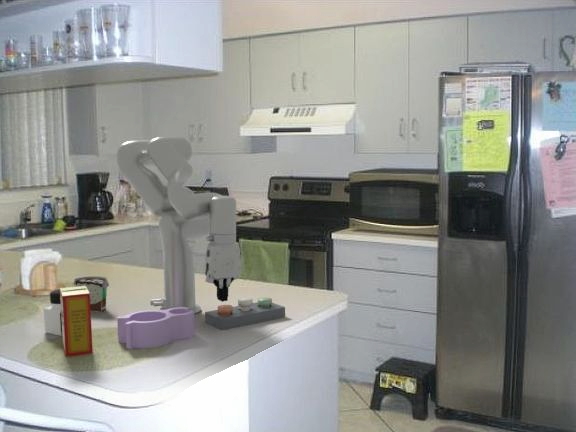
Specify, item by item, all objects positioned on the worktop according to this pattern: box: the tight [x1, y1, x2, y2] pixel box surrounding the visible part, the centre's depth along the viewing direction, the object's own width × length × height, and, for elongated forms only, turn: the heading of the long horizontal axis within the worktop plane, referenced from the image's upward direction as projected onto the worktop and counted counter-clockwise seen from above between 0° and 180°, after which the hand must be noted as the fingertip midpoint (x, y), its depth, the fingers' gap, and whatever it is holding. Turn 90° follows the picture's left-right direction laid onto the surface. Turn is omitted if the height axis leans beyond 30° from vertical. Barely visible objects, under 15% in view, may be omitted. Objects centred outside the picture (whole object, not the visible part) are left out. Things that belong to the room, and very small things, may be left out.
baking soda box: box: [59, 286, 94, 358], centre depth 171 cm, size 10×6×16 cm
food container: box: [73, 275, 110, 314], centre depth 211 cm, size 12×6×10 cm, turn 65°
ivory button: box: [237, 297, 254, 312], centre depth 198 cm, size 4×4×4 cm
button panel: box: [204, 301, 286, 331], centre depth 198 cm, size 22×10×3 cm, turn 126°
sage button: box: [257, 297, 273, 308], centre depth 202 cm, size 4×4×4 cm
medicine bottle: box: [43, 288, 62, 337], centre depth 187 cm, size 7×7×12 cm
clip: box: [116, 307, 196, 350], centre depth 180 cm, size 20×12×7 cm, turn 123°
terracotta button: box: [217, 304, 234, 316], centre depth 194 cm, size 4×4×4 cm
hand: (222, 300), depth 194 cm, fingers closed
